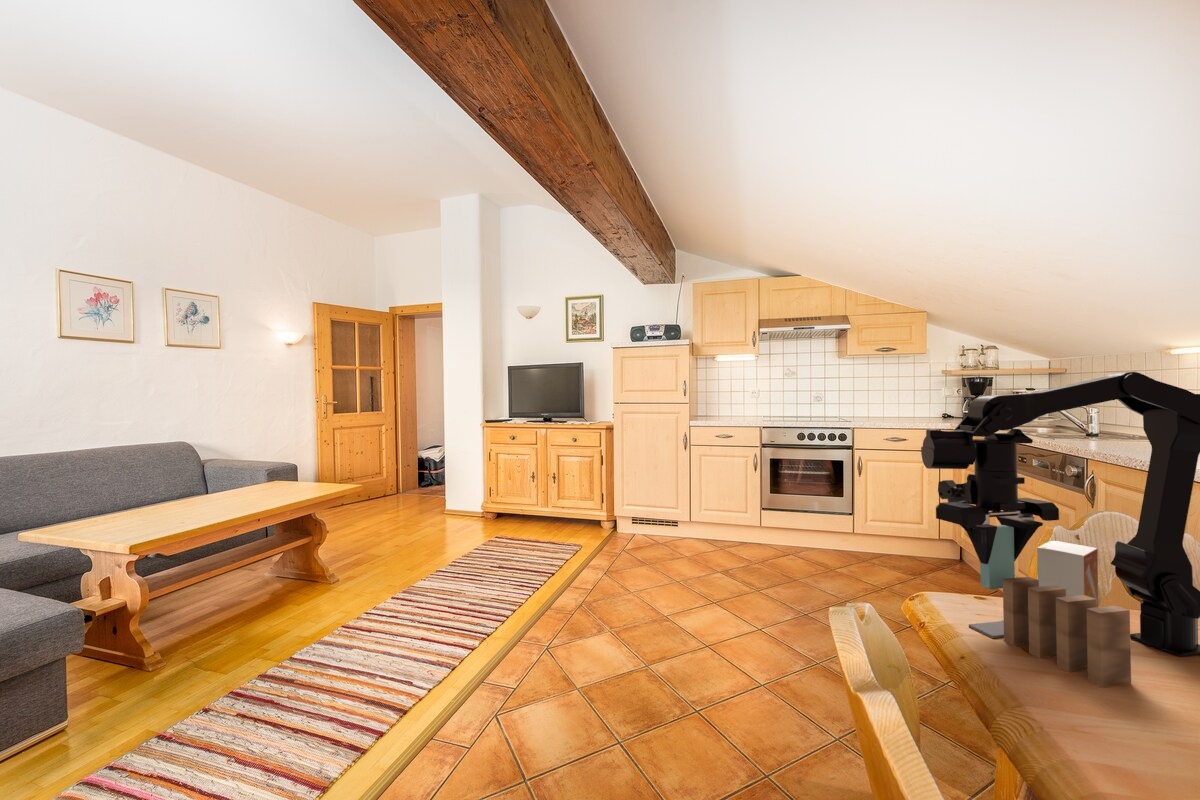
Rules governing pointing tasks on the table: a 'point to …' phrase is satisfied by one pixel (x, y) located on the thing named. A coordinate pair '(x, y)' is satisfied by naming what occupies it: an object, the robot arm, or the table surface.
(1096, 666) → the domino
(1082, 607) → the domino
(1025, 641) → the domino
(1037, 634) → the domino
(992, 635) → the end pad
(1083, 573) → the small box
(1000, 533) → the domino
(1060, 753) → the table surface
